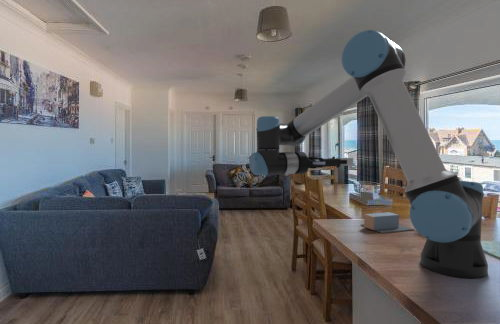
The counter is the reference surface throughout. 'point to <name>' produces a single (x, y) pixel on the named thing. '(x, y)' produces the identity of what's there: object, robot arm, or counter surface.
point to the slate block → (381, 221)
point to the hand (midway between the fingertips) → (352, 161)
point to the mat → (393, 229)
